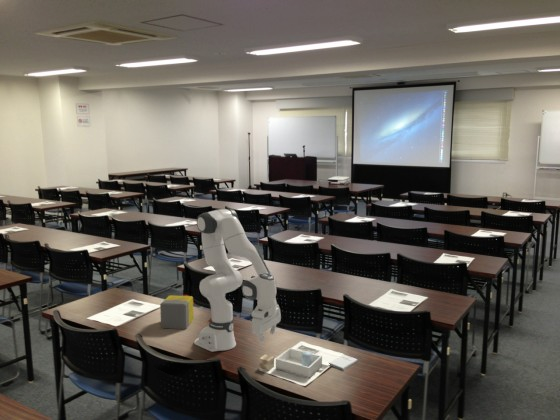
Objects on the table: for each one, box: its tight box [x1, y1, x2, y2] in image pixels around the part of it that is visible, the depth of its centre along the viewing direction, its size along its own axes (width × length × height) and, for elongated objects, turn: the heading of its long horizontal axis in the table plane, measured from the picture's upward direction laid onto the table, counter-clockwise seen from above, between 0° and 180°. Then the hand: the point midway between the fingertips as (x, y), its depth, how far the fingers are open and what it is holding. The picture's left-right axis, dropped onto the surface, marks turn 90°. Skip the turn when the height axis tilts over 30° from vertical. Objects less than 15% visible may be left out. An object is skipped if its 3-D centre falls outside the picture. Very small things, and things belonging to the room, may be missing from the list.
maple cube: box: [259, 353, 275, 371], centre depth 219 cm, size 5×5×5 cm
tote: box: [275, 347, 323, 379], centre depth 219 cm, size 18×14×5 cm
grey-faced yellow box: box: [159, 294, 195, 330], centre depth 275 cm, size 15×24×15 cm, turn 174°
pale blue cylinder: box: [302, 350, 313, 367], centre depth 217 cm, size 5×5×7 cm
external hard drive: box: [328, 354, 358, 371], centre depth 224 cm, size 2×8×12 cm
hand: (267, 337), depth 217 cm, fingers open, 8 cm apart
